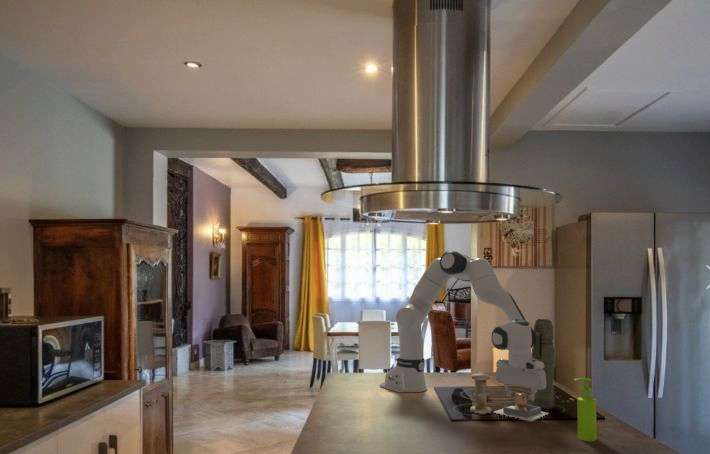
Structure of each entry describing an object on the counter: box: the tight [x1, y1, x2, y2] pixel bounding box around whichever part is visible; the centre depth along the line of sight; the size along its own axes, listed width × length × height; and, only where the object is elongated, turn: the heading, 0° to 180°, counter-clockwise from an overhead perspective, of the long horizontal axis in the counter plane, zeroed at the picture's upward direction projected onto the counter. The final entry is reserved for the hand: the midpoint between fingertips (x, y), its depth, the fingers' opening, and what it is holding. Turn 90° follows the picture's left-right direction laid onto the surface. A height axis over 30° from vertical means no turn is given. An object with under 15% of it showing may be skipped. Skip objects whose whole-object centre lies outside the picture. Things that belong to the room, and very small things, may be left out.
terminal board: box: [493, 404, 550, 422], centre depth 228 cm, size 16×14×3 cm
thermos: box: [530, 318, 555, 410], centre depth 241 cm, size 9×12×35 cm
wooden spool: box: [469, 373, 492, 415], centre depth 232 cm, size 8×8×14 cm
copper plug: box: [514, 392, 528, 411], centre depth 228 cm, size 4×4×7 cm
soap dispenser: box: [573, 377, 598, 442], centre depth 198 cm, size 6×7×20 cm
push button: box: [476, 371, 491, 397], centre depth 258 cm, size 7×5×10 cm
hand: (520, 397), depth 228 cm, fingers open, 8 cm apart
